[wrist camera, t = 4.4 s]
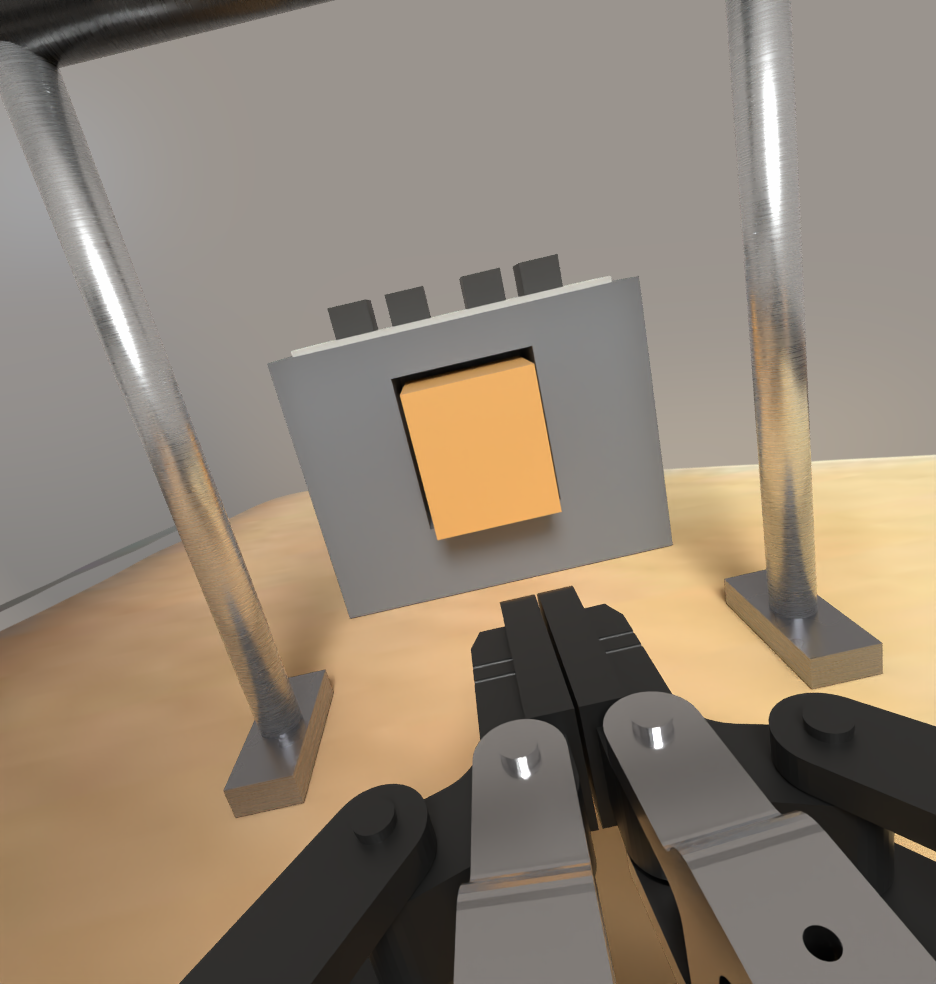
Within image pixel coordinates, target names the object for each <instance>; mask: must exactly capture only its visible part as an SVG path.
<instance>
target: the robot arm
mask: <svg viewBox="0 0 936 984" xmlns="http://www.w3.org/2000/svg"><path fill="white" fill-rule="evenodd" d="M537 597H538V603H539V605H538V603H537V600H536V597H535V595H530V596H525V597H521V598H517V599H512V600H508V601H503V602H500V605H501V609H502V614H503V618H504V623H505V627H501V628H496V629H492V630H487V631H483V632H480V633H479V635H478V637H477V639H476V640H475V642H474V644H473V646H472V648H471V654H472V664H473V674H474V682H475V693H476V703H477V713H478V722H479V732H480V742H479V743H478V745H477V747H476V748H475V751H474V754H473V765H472V766H471V768H470V769H469V770H468V771H467V772H466V773H465V774H464V775H463V776H462V777H461V778H460V779H459V780H458V781H456V782H455V783H454V784H452V785H450V786H449V787H447V788H445V789H443V790H441V791H439V792H437V793H435V794H434V795H432V796H430V797H428V798H426V799H423V798H422V796H421V795H420V794H419V793H418V792H417V791H416V790H414V789H413V788H411V787H408V786H405V785H400V784H386V785H381V786H377V787H374V788H371V789H369V790H367V791H364V792H362V793H361V794H359V795H357V796H356V797H354V798H353V799H352V800H350V801H349V802H348V803H347V804H346V805H345V806H344V807H343V808H342V809H341V810H340V811H339V812H338V813H337V814H336V815H335V816H334V817H333V818H332V819H331V820H330V822H329V823H328V824H327V825H326V826H325V827H324V828H323V829H322V830H321V831H320V832H319V833H318V835H317V836H316V837H315V838H314V839H313V840H312V841H311V842H310V843H309V844H308V845H307V846H306V847H305V849H304V850H303V851H302V852H301V853H300V854H299V855H298V856H297V857H296V858H295V859H294V860H293V861H292V863H291V864H290V865H289V866H288V867H287V868H286V869H285V870H284V871H283V872H282V873H281V874H280V875H279V877H278V878H277V879H276V880H275V881H274V882H273V883H272V884H271V885H270V886H269V887H268V888H267V889H266V891H265V892H264V893H263V894H262V895H261V896H260V897H259V898H258V899H257V900H256V901H255V902H254V904H253V905H252V906H251V907H250V908H249V909H248V910H247V911H246V912H245V913H244V914H243V915H242V916H241V918H240V919H239V920H238V921H237V922H236V923H235V924H234V925H233V926H232V927H231V928H230V929H229V930H228V932H227V933H226V934H225V935H224V936H223V937H222V938H221V939H220V940H219V941H218V942H217V943H216V944H215V946H214V947H213V948H212V949H211V950H210V951H209V952H208V953H207V954H206V955H205V956H204V957H203V958H202V960H201V961H200V962H199V963H198V964H197V965H196V966H195V967H194V968H193V969H192V970H191V971H190V973H189V974H188V975H187V976H186V977H185V978H184V979H183V980H182V981H181V982H180V983H179V984H616V979H615V974H614V969H613V964H612V959H611V954H610V949H609V944H608V939H607V934H606V929H605V924H604V919H603V914H602V909H601V903H600V898H599V893H598V888H597V883H596V879H595V874H596V858H595V853H594V848H593V843H592V838H591V833H590V832H591V831H596V830H599V829H598V824H597V819H596V814H595V809H594V804H593V800H594V803H595V806H596V809H597V812H598V815H599V818H600V822H601V825H602V828H608V827H612V826H617V825H618V827H619V830H620V833H621V836H622V838H623V841H624V844H625V848H626V854H627V859H628V865H629V870H630V874H631V877H632V879H633V882H634V884H635V886H636V888H637V891H638V893H639V895H640V898H641V900H642V902H643V905H644V907H645V909H646V912H647V914H648V916H649V919H650V921H651V923H652V926H653V928H654V930H655V932H656V935H657V937H658V939H659V942H660V944H661V946H662V949H663V951H664V953H665V956H666V958H667V960H668V963H669V965H670V967H671V970H672V972H673V974H674V976H675V979H676V981H677V983H678V984H936V862H935V861H933V860H931V859H929V858H927V857H924V856H922V855H920V854H918V853H916V852H914V851H911V850H909V849H907V848H905V847H903V846H901V845H899V844H896V843H894V833H896V834H898V835H901V836H903V837H905V838H907V839H909V840H912V841H914V842H916V843H918V844H920V845H923V846H925V847H927V848H929V849H931V850H934V851H936V726H933V725H930V724H927V723H923V722H920V721H917V720H914V719H911V718H908V717H905V716H902V715H899V714H895V713H892V712H889V711H886V710H883V709H880V708H877V707H874V706H871V705H867V704H864V703H861V702H858V701H855V700H852V699H849V698H845V697H842V696H838V695H833V694H826V693H804V694H797V695H794V696H790V697H788V698H785V699H783V700H782V701H780V702H779V703H777V704H776V705H775V706H774V707H773V709H772V711H771V712H770V715H769V725H764V724H732V723H722V722H717V721H713V720H709V719H706V718H703V716H702V715H701V714H700V712H699V711H698V710H697V709H696V708H695V707H694V706H693V705H692V704H691V703H689V702H688V701H686V700H684V699H682V698H681V697H678V696H675V695H673V694H672V693H671V691H670V690H669V688H668V687H667V685H666V683H665V682H664V680H663V678H662V677H661V675H660V674H659V672H658V670H657V669H656V667H655V665H654V664H653V662H652V661H651V659H650V657H649V656H648V654H647V652H646V651H645V649H644V648H643V646H641V643H640V641H639V640H638V638H637V636H636V635H635V633H633V630H632V628H631V627H630V625H629V623H628V622H627V620H626V618H625V617H624V615H623V614H621V613H619V612H618V611H616V610H614V609H613V608H611V607H609V606H608V605H606V604H602V605H597V606H593V607H588V608H584V607H583V605H582V603H581V601H580V599H579V597H578V595H577V593H576V591H575V589H574V588H573V586H569V587H564V588H560V589H556V590H551V591H547V592H542V593H538V594H537ZM592 797H593V799H592Z"/></svg>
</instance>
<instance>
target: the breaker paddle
mask: <svg viewBox="0 0 936 984" xmlns="http://www.w3.org/2000/svg"><path fill="white" fill-rule="evenodd" d="M400 398H401V402H402V405H403V409H404V413H405V417H406V421H407V425H408V428H409V432H410V436H411V440H412V444H413V448H414V451H415V455H416V459H417V463H418V467H419V471H420V474H421V478H422V482H423V486H424V490H425V494H426V498H427V501H428V505H429V509H430V513H431V517H432V521H433V524H434V528H435V532H436V536H437V540H441V539H445V538H450V537H454V536H458V535H463V534H467V533H471V532H476V531H480V530H485V529H489V528H493V527H498V526H502V525H506V524H511V523H515V522H519V521H524V520H528V519H532V518H537V517H541V516H545V515H550V514H554V513H558V512H562V510H561V505H560V500H559V494H558V489H557V484H556V478H555V473H554V467H553V462H552V457H551V451H550V446H549V441H548V435H547V430H546V424H545V419H544V414H543V408H542V403H541V398H540V392H539V387H538V381H537V376H536V371H535V365H534V363H532V362H530V361H528V360H526V359H524V358H522V357H520V356H515V357H510V358H506V359H502V360H498V361H493V362H489V363H485V364H480V365H476V366H472V367H468V368H463V369H459V370H455V371H451V372H446V373H442V374H438V375H434V376H429V377H425V378H421V379H417V380H412V381H408V382H405V385H404V387H403V389H402V391H401V394H400Z"/></svg>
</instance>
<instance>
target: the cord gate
mask: <svg viewBox="0 0 936 984" xmlns="http://www.w3.org/2000/svg"><path fill="white" fill-rule="evenodd" d="M329 1H334V0H0V96H1V98H2V101H3V103H4V105H5V108H6V111H7V113H8V116H9V118H10V120H11V123H12V125H13V128H14V130H15V133H16V135H17V137H18V140H19V143H20V145H21V147H22V150H23V152H24V155H25V157H26V160H27V162H28V164H29V167H30V169H31V172H32V174H33V177H34V179H35V182H36V184H37V187H38V189H39V192H40V194H41V196H42V199H43V201H44V204H45V206H46V209H47V211H48V214H49V216H50V219H51V221H52V223H53V226H54V228H55V231H56V233H57V235H58V238H59V241H60V243H61V246H62V248H63V250H64V253H65V255H66V258H67V260H68V263H69V265H70V268H71V270H72V272H73V275H74V277H75V280H76V282H77V285H78V287H79V290H80V292H81V294H82V297H83V299H84V302H85V304H86V307H87V309H88V312H89V314H90V317H91V319H92V321H93V324H94V326H95V329H96V331H97V334H98V336H99V338H100V341H101V343H102V346H103V349H104V351H105V353H106V356H107V358H108V361H109V363H110V366H111V368H112V370H113V373H114V375H115V378H116V380H117V383H118V385H119V388H120V390H121V393H122V395H123V398H124V400H125V402H126V405H127V407H128V410H129V412H130V415H131V417H132V420H133V422H134V425H135V427H136V429H137V432H138V434H139V437H140V439H141V441H142V444H143V446H144V449H145V451H146V454H147V456H148V459H149V461H150V464H151V466H152V469H153V471H154V473H155V476H156V478H157V481H158V483H159V486H160V488H161V491H162V493H163V496H164V498H165V501H166V503H167V505H168V508H169V510H170V513H171V515H172V518H173V520H174V523H175V525H176V528H177V530H178V532H179V535H180V537H181V540H182V542H183V545H184V547H185V550H186V552H187V555H188V557H189V559H190V562H191V564H192V567H193V569H194V572H195V574H196V577H197V579H198V582H199V584H200V586H201V589H202V591H203V594H204V596H205V599H206V601H207V604H208V606H209V609H210V611H211V613H212V616H213V618H214V621H215V623H216V626H217V628H218V631H219V633H220V635H221V638H222V640H223V643H224V645H225V648H226V650H227V653H228V655H229V658H230V660H231V662H232V665H233V667H234V670H235V672H236V675H237V677H238V680H239V682H240V685H241V687H242V689H243V692H244V694H245V697H246V699H247V702H248V704H249V707H250V709H251V712H252V714H253V716H254V719H255V721H254V723H253V725H252V728H251V730H250V732H249V734H248V737H247V739H246V741H245V743H244V746H243V748H242V750H241V752H240V755H239V757H238V759H237V761H236V764H235V766H234V768H233V770H232V773H231V775H230V777H229V779H228V782H227V784H226V786H225V788H224V793H225V796H226V798H227V800H228V802H229V804H230V807H231V809H232V811H233V813H234V816H235V818H238V817H242V816H247V815H251V814H256V813H260V812H265V811H269V810H274V809H278V808H283V807H287V806H291V805H296V804H300V803H304V800H305V796H306V793H307V789H308V785H309V781H310V778H311V774H312V770H313V767H314V763H315V759H316V755H317V752H318V748H319V744H320V741H321V737H322V733H323V730H324V726H325V722H326V718H327V715H328V711H329V707H330V704H331V700H332V696H333V689H332V687H331V684H330V681H329V678H328V675H327V672H326V670H321V671H317V672H312V673H308V674H304V675H299V676H295V677H290V678H288V676H287V673H286V671H285V668H284V665H283V663H282V660H281V657H280V655H279V652H278V649H277V647H276V644H275V641H274V639H273V636H272V633H271V631H270V628H269V625H268V623H267V620H266V618H265V615H264V612H263V610H262V607H261V604H260V602H259V599H258V596H257V594H256V591H255V588H254V586H253V583H252V580H251V578H250V575H249V572H248V570H247V567H246V564H245V562H244V559H243V556H242V554H241V551H240V548H239V546H238V543H237V540H236V538H235V535H234V532H233V530H232V527H231V524H230V522H229V519H228V517H227V514H226V511H225V509H224V506H223V503H222V501H221V498H220V496H219V493H218V490H217V487H216V485H215V482H214V479H213V477H212V474H211V471H210V469H209V466H208V464H207V461H206V458H205V456H204V453H203V450H202V447H201V445H200V442H199V440H198V437H197V434H196V432H195V429H194V426H193V424H192V421H191V418H190V416H189V413H188V410H187V408H186V405H185V402H184V400H183V397H182V394H181V392H180V389H179V387H178V384H177V381H176V378H175V376H174V373H173V371H172V368H171V365H170V362H169V360H168V357H167V355H166V352H165V349H164V346H163V344H162V341H161V338H160V336H159V333H158V331H157V328H156V325H155V323H154V320H153V317H152V315H151V312H150V309H149V307H148V304H147V301H146V299H145V296H144V294H143V291H142V288H141V285H140V283H139V280H138V277H137V275H136V272H135V269H134V267H133V264H132V261H131V259H130V256H129V253H128V251H127V248H126V246H125V243H124V240H123V238H122V235H121V232H120V229H119V227H118V224H117V222H116V219H115V216H114V214H113V211H112V208H111V206H110V203H109V200H108V198H107V195H106V192H105V190H104V187H103V184H102V182H101V179H100V176H99V174H98V171H97V168H96V166H95V163H94V160H93V158H92V155H91V152H90V150H89V147H88V144H87V142H86V139H85V136H84V134H83V131H82V128H81V126H80V123H79V120H78V118H77V115H76V112H75V110H74V107H73V105H72V102H71V99H70V97H69V94H68V91H67V89H66V86H65V83H64V81H63V78H62V75H61V73H60V70H59V68H61V67H65V66H69V65H73V64H77V63H81V62H86V61H89V60H94V59H98V58H102V57H106V56H110V55H114V54H118V53H122V52H126V51H130V50H134V49H138V48H142V47H146V46H150V45H155V44H159V43H163V42H167V41H171V40H175V39H179V38H183V37H187V36H191V35H195V34H199V33H203V32H208V31H211V30H216V29H219V28H224V27H228V26H232V25H236V24H240V23H244V22H248V21H252V20H256V19H260V18H264V17H268V16H273V15H277V14H281V13H285V12H289V11H293V10H297V9H301V8H305V7H309V6H313V5H317V4H321V3H325V2H329ZM725 3H726V18H727V32H728V46H729V60H730V73H731V87H732V101H733V115H734V129H735V142H736V156H737V170H738V184H739V197H740V212H741V225H742V239H743V252H744V267H745V280H746V294H747V308H748V322H749V335H750V349H751V363H752V377H753V391H754V405H755V418H756V433H757V446H758V460H759V474H760V488H761V502H762V515H763V529H764V543H765V557H766V570H762V571H758V572H753V573H749V574H744V575H740V576H736V577H731V578H727V579H724V583H725V594H726V604H727V605H728V606H729V607H730V608H731V609H732V610H733V611H734V612H735V613H736V614H737V615H738V616H739V617H740V618H741V619H742V620H743V621H744V622H745V623H746V624H747V625H748V626H749V627H750V628H751V629H752V630H753V631H754V632H755V633H756V634H757V635H758V636H759V637H760V638H761V639H762V640H763V641H764V642H765V643H766V644H767V645H768V646H769V647H770V648H771V649H772V650H773V651H774V652H775V653H776V654H777V655H778V656H779V657H780V658H781V659H782V660H783V661H784V662H785V663H786V664H787V665H788V666H789V667H790V668H791V669H792V670H793V671H794V672H795V673H796V674H797V675H798V676H799V677H800V678H801V679H802V680H803V681H804V682H805V683H806V684H807V685H808V686H809V687H810V688H811V689H816V688H820V687H825V686H829V685H834V684H838V683H842V682H847V681H851V680H856V679H860V678H865V677H869V676H874V675H878V674H883V664H882V642H880V641H879V640H878V639H876V638H875V637H873V636H872V635H871V634H869V633H868V632H867V631H865V630H864V629H863V628H861V627H860V626H859V625H857V624H856V623H855V622H853V621H852V620H851V619H849V618H848V617H846V616H845V615H844V614H842V613H841V612H840V611H838V610H837V609H836V608H834V607H833V606H832V605H830V604H829V603H828V602H826V601H825V600H824V599H822V598H821V597H819V596H818V595H817V585H816V562H815V539H814V516H813V493H812V470H811V450H810V449H811V448H810V427H809V425H810V424H809V403H808V402H809V401H808V379H807V356H806V333H805V310H804V287H803V266H802V242H801V218H800V195H799V175H798V174H799V173H798V149H797V126H796V103H795V83H794V82H795V80H794V58H793V34H792V11H791V0H725Z"/></svg>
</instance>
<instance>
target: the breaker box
mask: <svg viewBox="0 0 936 984" xmlns="http://www.w3.org/2000/svg"><path fill="white" fill-rule="evenodd" d="M513 270H514V275H515V281H516V286H517V291H518V297H515V298H511V299H507V300H506V298H505V294H504V288H503V283H502V277H501V272H500V268H497V269H492V270H488V271H484V272H480V273H475V274H471V275H467V276H463V277H461V278H460V285H461V289H462V294H463V298H464V303H465V308H466V309H464V310H460V311H456V312H452V313H447V314H443V315H439V316H435V317H431V316H430V312H429V308H428V304H427V299H426V295H425V291H424V287H423V286H421V287H416V288H413V289H408V290H404V291H400V292H395V293H391V294H387V295H385V298H386V302H387V306H388V310H389V314H390V318H391V322H392V327H389V328H384V329H380V330H378V327H377V323H376V319H375V315H374V311H373V308H372V304H371V301H370V300H362V301H358V302H354V303H349V304H345V305H341V306H336V307H332V308H328V312H329V315H330V319H331V323H332V326H333V330H334V333H335V337H336V340H333V341H329V342H325V343H320V344H317V345H312V346H309V347H305V348H302V349H297V350H294V351H291V354H292V356H291V357H288V358H285V359H281V360H278V361H275V362H271V363H268V364H267V365H268V368H269V371H270V374H271V377H272V380H273V383H274V386H275V390H276V393H277V396H278V399H279V402H280V405H281V408H282V411H283V414H284V417H285V420H286V423H287V426H288V429H289V433H290V436H291V439H292V442H293V445H294V448H295V451H296V454H297V457H298V460H299V463H300V466H301V469H302V472H303V475H304V478H305V482H306V484H307V488H308V491H309V494H310V497H311V500H312V503H313V506H314V509H315V512H316V516H317V519H318V522H319V525H320V528H321V531H322V534H323V537H324V540H325V543H326V546H327V549H328V552H329V555H330V559H331V562H332V565H333V568H334V571H335V574H336V577H337V580H338V583H339V586H340V589H341V592H342V595H343V598H344V602H345V605H346V608H347V611H348V614H349V617H350V618H355V617H359V616H363V615H368V614H372V613H377V612H381V611H385V610H390V609H394V608H398V607H403V606H407V605H412V604H416V603H420V602H425V601H429V600H433V599H438V598H442V597H447V596H451V595H455V594H460V593H464V592H469V591H473V590H477V589H482V588H486V587H490V586H495V585H499V584H504V583H508V582H512V581H517V580H521V579H525V578H530V577H534V576H539V575H543V574H547V573H552V572H556V571H561V570H565V569H569V568H574V567H578V566H582V565H587V564H591V563H596V562H600V561H604V560H609V559H613V558H618V557H622V556H626V555H631V554H635V553H639V552H644V551H648V550H653V549H657V548H661V547H666V546H670V545H673V544H672V536H671V528H670V520H669V512H668V504H667V496H666V488H665V480H664V472H663V465H662V457H661V449H660V440H659V433H658V425H657V417H656V409H655V401H654V393H653V385H652V378H651V369H650V361H649V353H648V346H647V337H646V329H645V321H644V314H643V305H642V297H641V290H640V281H639V276H637V277H631V278H625V279H620V280H615V281H612V280H611V276H607V277H602V278H597V279H593V280H588V281H583V282H579V283H575V284H570V285H566V286H563V285H562V279H561V273H560V267H559V261H558V255H557V254H555V255H551V256H547V257H543V258H539V259H534V260H531V261H526V262H522V263H518V264H517V265H515V266H513ZM515 356H520V357H522V358H524V359H526V360H528V361H530V362H532V363H534V365H535V371H536V376H537V381H538V387H539V392H540V398H541V403H542V408H543V414H544V419H545V424H546V430H547V435H548V441H549V446H550V451H551V457H552V462H553V467H554V473H555V478H556V484H557V489H558V494H559V500H560V505H561V510H562V512H558V513H554V514H550V515H545V516H541V517H537V518H532V519H528V520H524V521H519V522H515V523H511V524H506V525H502V526H498V527H493V528H489V529H485V530H480V531H476V532H471V533H467V534H463V535H458V536H454V537H450V538H445V539H441V540H437V536H436V532H435V528H434V524H433V521H432V517H431V513H430V509H429V505H428V501H427V498H426V494H425V490H424V486H423V482H422V478H421V474H420V471H419V467H418V463H417V459H416V455H415V451H414V448H413V444H412V440H411V436H410V432H409V428H408V425H407V421H406V417H405V413H404V409H403V405H402V402H401V398H400V394H401V391H402V389H403V387H404V385H405V382H408V381H412V380H417V379H421V378H425V377H429V376H434V375H438V374H442V373H446V372H451V371H455V370H459V369H463V368H468V367H472V366H476V365H480V364H485V363H489V362H493V361H498V360H502V359H506V358H510V357H515Z"/></svg>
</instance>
